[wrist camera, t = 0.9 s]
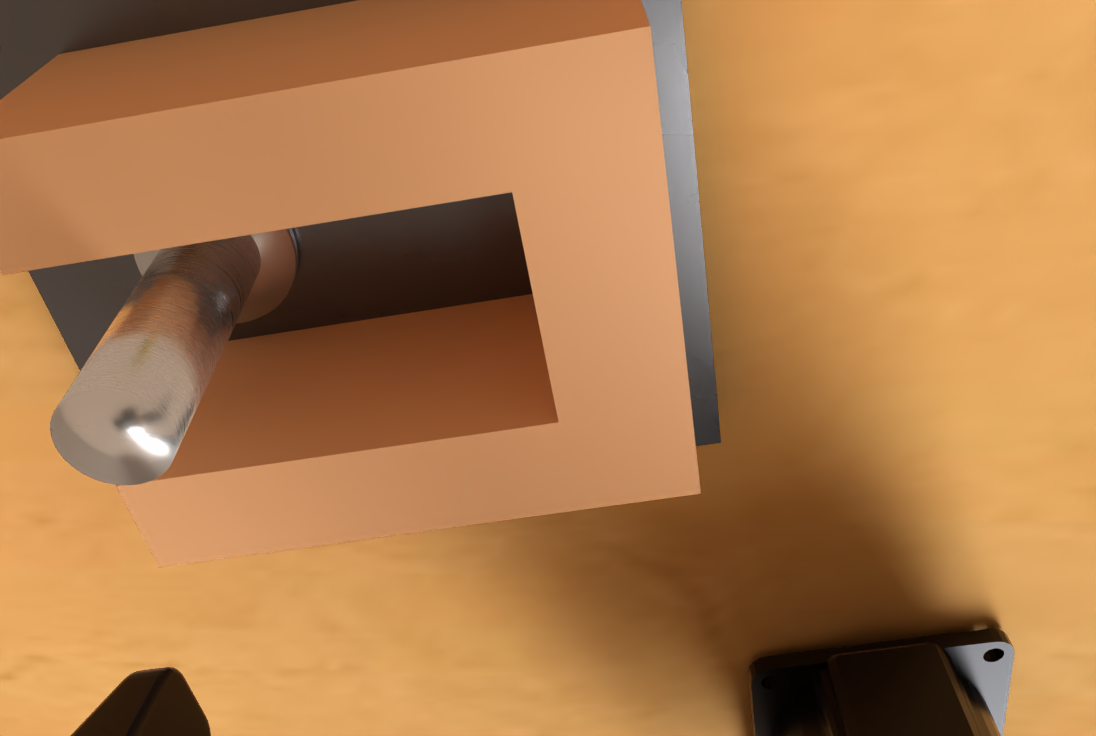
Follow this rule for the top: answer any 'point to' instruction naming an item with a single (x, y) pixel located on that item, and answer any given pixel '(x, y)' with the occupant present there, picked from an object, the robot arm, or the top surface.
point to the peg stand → (293, 258)
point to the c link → (373, 188)
